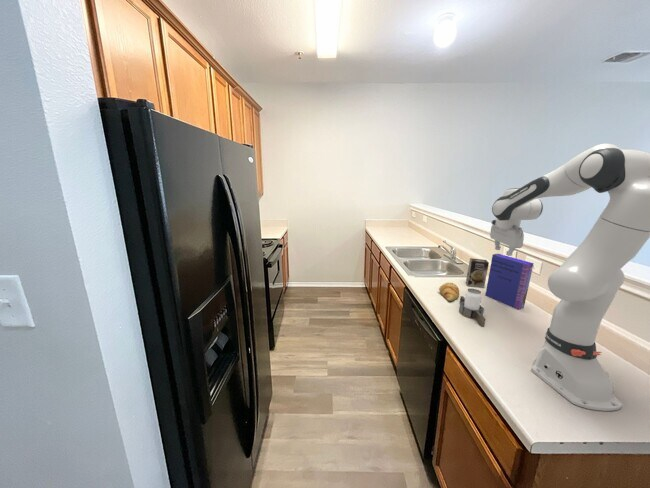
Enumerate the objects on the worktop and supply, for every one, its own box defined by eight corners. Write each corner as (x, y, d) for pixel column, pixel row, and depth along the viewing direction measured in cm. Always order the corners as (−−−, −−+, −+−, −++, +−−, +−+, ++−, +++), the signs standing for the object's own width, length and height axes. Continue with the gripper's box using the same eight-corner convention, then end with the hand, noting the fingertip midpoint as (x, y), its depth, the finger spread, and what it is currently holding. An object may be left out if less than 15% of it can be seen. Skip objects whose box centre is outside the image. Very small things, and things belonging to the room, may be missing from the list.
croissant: (455, 309, 141) (465, 298, 138) (437, 298, 143) (447, 287, 140) (451, 292, 160) (460, 282, 157) (436, 283, 162) (445, 273, 159)
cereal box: (523, 308, 137) (533, 262, 131) (517, 309, 135) (527, 264, 129) (491, 294, 152) (498, 253, 146) (485, 295, 150) (492, 254, 144)
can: (463, 316, 128) (467, 292, 125) (462, 309, 134) (465, 287, 131) (479, 318, 126) (483, 294, 123) (476, 312, 131) (480, 289, 129)
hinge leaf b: (485, 319, 125) (487, 311, 124) (464, 318, 126) (466, 310, 125) (469, 303, 140) (471, 296, 139) (451, 302, 141) (452, 295, 140)
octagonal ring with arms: (493, 327, 119) (495, 319, 118) (471, 326, 119) (473, 318, 118) (475, 309, 134) (477, 302, 133) (456, 308, 135) (457, 301, 134)
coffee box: (467, 286, 162) (471, 260, 158) (465, 282, 168) (469, 257, 164) (484, 288, 160) (489, 262, 156) (481, 284, 166) (486, 259, 161)
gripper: (530, 228, 115) (524, 259, 119) (502, 220, 135) (497, 247, 138) (515, 227, 115) (509, 258, 119) (489, 220, 135) (485, 246, 139)
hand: (502, 252), depth 129 cm, fingers open, 8 cm apart
